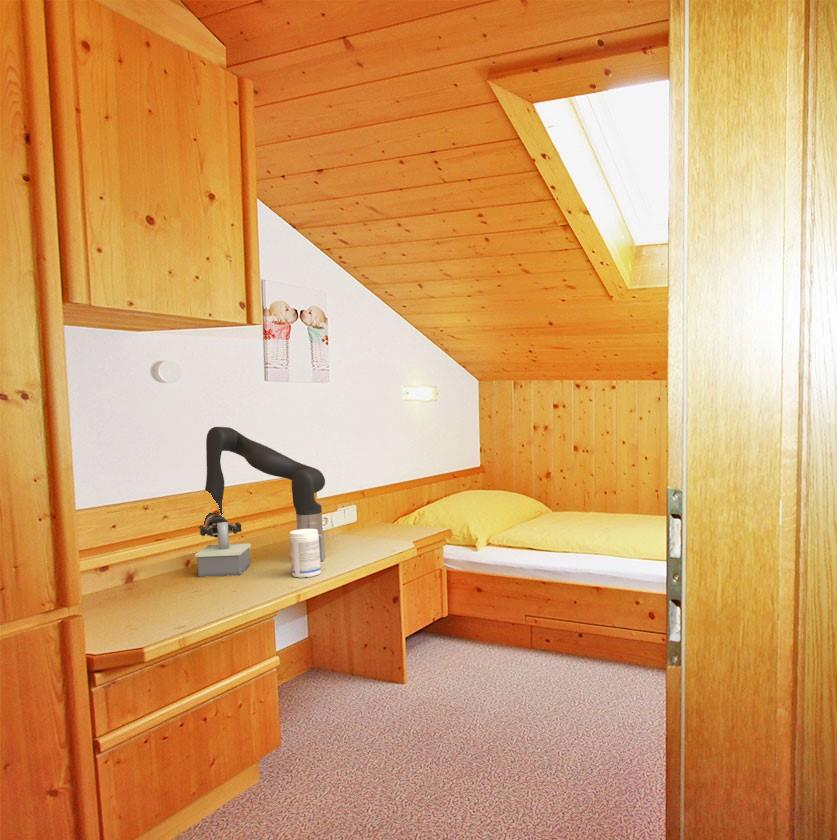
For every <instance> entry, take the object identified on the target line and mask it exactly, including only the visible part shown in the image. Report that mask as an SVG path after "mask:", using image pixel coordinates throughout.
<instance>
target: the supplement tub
mask: <svg viewBox="0 0 837 840" xmlns="http://www.w3.org/2000/svg"><path fill="white" fill-rule="evenodd" d="M289 547H290V560H291V561H290V562H291V575H292V576H293V577H294V578H297V577H298V579H302V578H305V577H308V578H313V577H317V576H319V575H320V574H321V572H322V568H321V561H320V548H319V535H318V530H317V529H299V530H297V529H295V530H291V531H290V532H289ZM316 575H317V576H316Z"/></svg>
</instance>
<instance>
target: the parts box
mask: <svg viewBox="0 0 837 840" xmlns="http://www.w3.org/2000/svg"><path fill="white" fill-rule="evenodd" d="M250 557H251V553H250V547H249V548H248V549H247V550H246V551H244V552H243V553H242V554H241V555H232V556H208V557H196V558H197V573H198V575H197V576H198V578H205V577H204V576H218V577H228V576H227V575H240V574H241V573H242V572H243V573H244V572H246V571H247V570H248V569H249V568H250V567H251V558H250ZM249 566H250V567H249ZM248 567H249V568H248ZM247 568H248V569H247ZM243 573H242V574H243ZM242 574H241V575H242ZM241 575H240V576H241Z"/></svg>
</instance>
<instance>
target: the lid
mask: <svg viewBox="0 0 837 840" xmlns="http://www.w3.org/2000/svg"><path fill="white" fill-rule="evenodd" d="M228 523H229V521H228V522H219V523H217V530H218V538H217V544H209V545H207V546H205V547H203V548H202V549H201V550H199V551H198V552H196V553H195V555H194V557H195V558H197V557H208V556H232V555H241V554H242V553H243V552H244V551H246V550H247V549H248V548H249V549H250V548H251V547H252V543H232V544H231V543H230V539H229V537H230V535H229V534H228Z"/></svg>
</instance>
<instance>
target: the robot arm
mask: <svg viewBox="0 0 837 840" xmlns="http://www.w3.org/2000/svg"><path fill="white" fill-rule="evenodd" d="M205 443H206V444H205V445H206V446H205V450H206V455H205V456H206V479H205V480H206V481H205V487H204V488H205V489H204V491H205V490H206V491H208V492H209V493H211V495H212V497H213V499H214V500H215V501H216V503H218V505H219V508H220V509H219V510H220V513H221V515H222V514H223V513H224V512H223V513H222V500H224V493H225V477H224V474H223V470H222V463H221V457H222V454H223V452H230V453H234V454H236V455H239V456H241V458H242V457H243V458H244V459H245V461H246V462H247V463H248V464H249V465H250V466H251V467H253V468H254V469H256V470H257V471H259V472H262V473H264V474H266V475H269V476H273V477H277V478H282V479H283V478H284V479H288V480H290V481H291V495H292V503H293V507H294V509H295V516H296V518H295V522H296V530H299V529H317V530H318V535H319V548H320V562H323V561H324V560H325V559H326V552H325V551H326V550H325V548H326V547H325V533H324V532H323V531H324V530H323V511H322V505H321V503H319V502H317V501H316V499H315V494H316V493H318V492H320V491H322V490H323V489H324V488H325V485H326V479H325V476H324V473H322V472H321V471H320V470H319V469H318V468H315V467H312V466H309V465H307V464H304V463H301V462H298V461H297V460H294V459H292V458H290V457H288V456H286V455H284V454H282V453H281V452H279V451H277V450H275V449H272V448H270V447H269V446H267V445H264V444H262V443H260V442H257V441H255V440H252V439H250V438H248V437H246V436H245V435H243V434H241V433H240V432H238V431H237V430H236V429H234V428H231V427H228V426H214V427H211V428H210V429H209V430H208V431H207V435H206V440H205ZM221 515H219V514H216V513H209V514H208V515H207V516H206V518H205V521H204V525H205V527H203V526H200V527H198V528H199V535H200V536H201V537H204V536H206V535H207V536H208V537H209V536H210V538H211V537H214V538H217V539H218V530H217V523H219V522H228V534H235V535H237V534H238V533H242V532H243V531H242V524H241V523H240V522H235V523H234V524H233V523H230V522H229V521H228V520H227V519H226V518H225V516H224V517H222V516H221ZM324 558H325V559H324Z"/></svg>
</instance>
